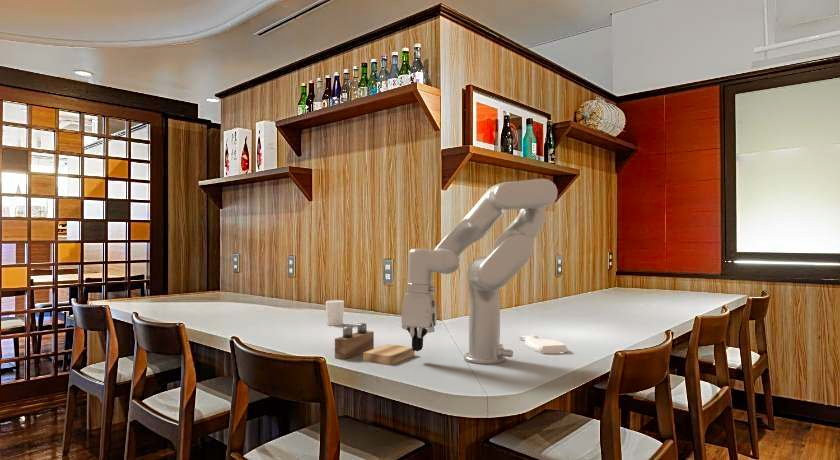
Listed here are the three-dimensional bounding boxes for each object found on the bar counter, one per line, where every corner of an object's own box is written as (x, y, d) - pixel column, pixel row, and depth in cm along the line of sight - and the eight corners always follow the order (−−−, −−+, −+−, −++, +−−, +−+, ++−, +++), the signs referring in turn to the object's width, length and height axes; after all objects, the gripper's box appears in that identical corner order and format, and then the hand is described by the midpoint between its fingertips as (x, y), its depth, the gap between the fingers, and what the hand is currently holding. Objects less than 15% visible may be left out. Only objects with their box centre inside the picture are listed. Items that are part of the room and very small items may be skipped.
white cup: (340, 326, 221) (340, 302, 221) (322, 325, 222) (322, 302, 222) (346, 323, 228) (346, 300, 228) (329, 322, 230) (329, 299, 230)
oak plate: (414, 356, 167) (414, 347, 167) (390, 366, 155) (390, 356, 155) (388, 353, 172) (388, 344, 172) (362, 362, 160) (362, 352, 160)
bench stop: (373, 349, 175) (373, 322, 176) (345, 359, 161) (345, 330, 161) (363, 348, 177) (363, 321, 177) (334, 357, 163) (334, 329, 163)
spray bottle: (539, 355, 168) (512, 341, 192) (570, 354, 170) (540, 340, 194) (538, 346, 168) (512, 333, 193) (570, 345, 170) (540, 332, 194)
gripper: (447, 290, 158) (444, 351, 158) (404, 286, 165) (401, 345, 165) (436, 292, 151) (433, 355, 151) (391, 288, 158) (389, 349, 158)
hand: (417, 350), depth 158 cm, fingers closed
